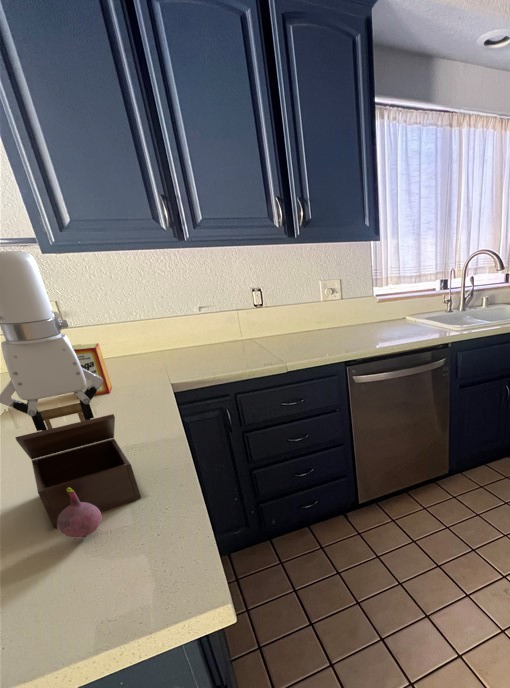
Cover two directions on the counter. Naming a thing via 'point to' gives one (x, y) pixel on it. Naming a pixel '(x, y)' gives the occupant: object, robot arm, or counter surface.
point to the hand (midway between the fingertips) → (67, 426)
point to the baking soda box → (93, 365)
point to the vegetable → (78, 518)
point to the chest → (85, 478)
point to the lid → (66, 432)
